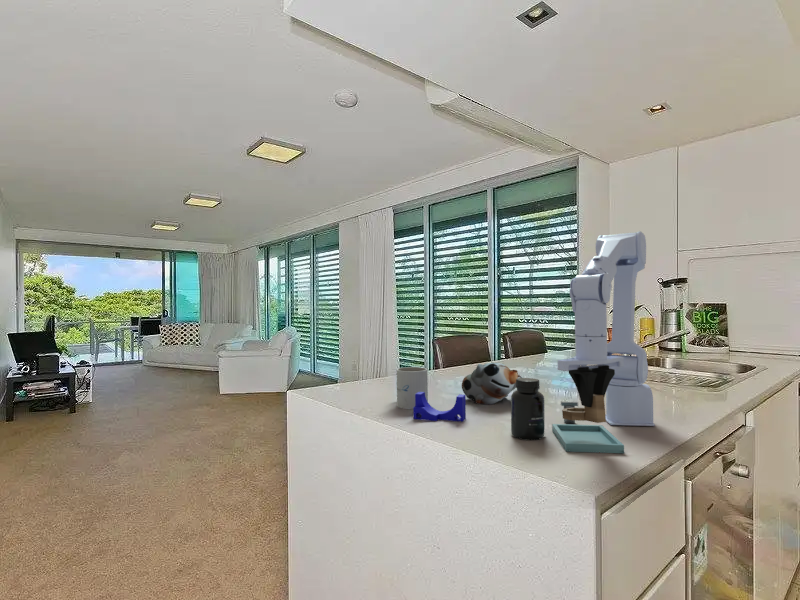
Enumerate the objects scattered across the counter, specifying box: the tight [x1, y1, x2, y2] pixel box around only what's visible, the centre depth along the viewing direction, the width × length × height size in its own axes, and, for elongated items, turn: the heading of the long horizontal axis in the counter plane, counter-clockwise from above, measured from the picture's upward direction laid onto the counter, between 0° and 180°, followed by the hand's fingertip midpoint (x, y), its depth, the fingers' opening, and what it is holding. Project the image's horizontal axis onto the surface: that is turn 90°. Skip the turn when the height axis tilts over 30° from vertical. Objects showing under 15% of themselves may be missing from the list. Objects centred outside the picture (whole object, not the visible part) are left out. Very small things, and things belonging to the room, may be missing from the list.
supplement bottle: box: [510, 377, 546, 441], centre depth 95 cm, size 7×7×12 cm
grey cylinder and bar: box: [560, 401, 579, 425], centre depth 105 cm, size 4×2×5 cm, turn 82°
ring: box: [561, 394, 607, 424], centre depth 89 cm, size 9×6×5 cm, turn 20°
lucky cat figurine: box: [461, 362, 523, 405], centre depth 128 cm, size 15×12×14 cm
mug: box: [396, 366, 429, 410], centre depth 126 cm, size 12×9×10 cm
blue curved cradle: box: [412, 392, 467, 423], centre depth 110 cm, size 12×4×6 cm, turn 68°
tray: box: [551, 423, 625, 454], centre depth 91 cm, size 10×14×2 cm
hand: (591, 405), depth 87 cm, fingers closed on ring
